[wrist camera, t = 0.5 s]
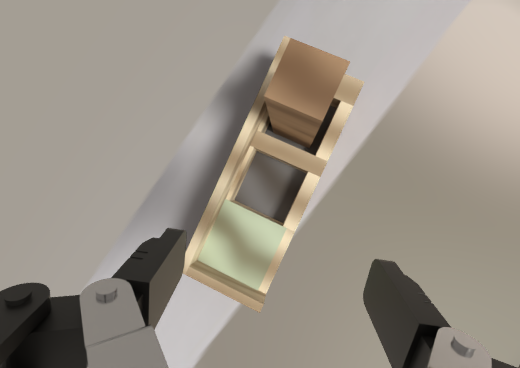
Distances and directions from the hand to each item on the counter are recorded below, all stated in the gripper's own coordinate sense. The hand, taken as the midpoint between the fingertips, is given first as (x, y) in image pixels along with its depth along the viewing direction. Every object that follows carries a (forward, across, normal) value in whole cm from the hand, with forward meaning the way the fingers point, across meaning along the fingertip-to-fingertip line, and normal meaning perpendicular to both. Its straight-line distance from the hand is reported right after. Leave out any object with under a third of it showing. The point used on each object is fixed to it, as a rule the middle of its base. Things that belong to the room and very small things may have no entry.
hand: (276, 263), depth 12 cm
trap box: (+25, -1, +3) cm, 25 cm away
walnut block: (+26, -3, -4) cm, 27 cm away
